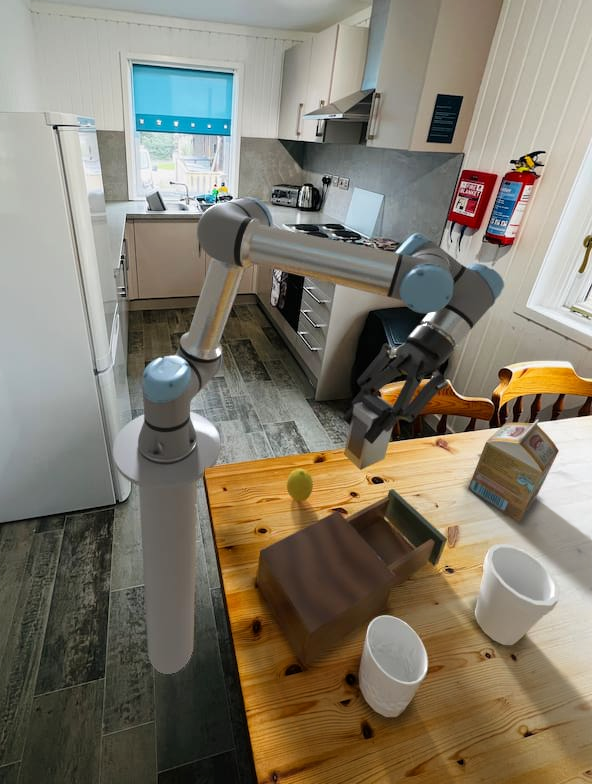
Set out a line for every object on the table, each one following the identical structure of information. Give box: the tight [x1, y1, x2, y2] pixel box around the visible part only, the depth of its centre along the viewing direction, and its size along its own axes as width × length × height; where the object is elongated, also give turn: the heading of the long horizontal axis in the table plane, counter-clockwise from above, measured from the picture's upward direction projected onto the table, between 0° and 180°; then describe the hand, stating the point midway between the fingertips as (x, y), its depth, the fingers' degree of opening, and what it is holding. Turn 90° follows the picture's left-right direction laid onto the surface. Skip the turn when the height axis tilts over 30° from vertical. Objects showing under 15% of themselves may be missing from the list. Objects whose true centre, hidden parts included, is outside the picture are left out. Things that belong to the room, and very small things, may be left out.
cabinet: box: [255, 510, 396, 667], centre depth 67 cm, size 18×14×9 cm
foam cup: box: [474, 543, 561, 646], centre depth 64 cm, size 10×9×13 cm
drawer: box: [344, 488, 448, 590], centre depth 74 cm, size 18×12×7 cm
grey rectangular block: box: [343, 393, 394, 471], centre depth 75 cm, size 5×7×13 cm
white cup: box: [357, 615, 429, 718], centre depth 56 cm, size 8×8×10 cm
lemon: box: [286, 468, 314, 502], centre depth 86 cm, size 6×6×8 cm
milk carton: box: [467, 418, 560, 522], centre depth 88 cm, size 11×11×19 cm
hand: (356, 430), depth 73 cm, fingers closed on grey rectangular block, 5 cm apart
